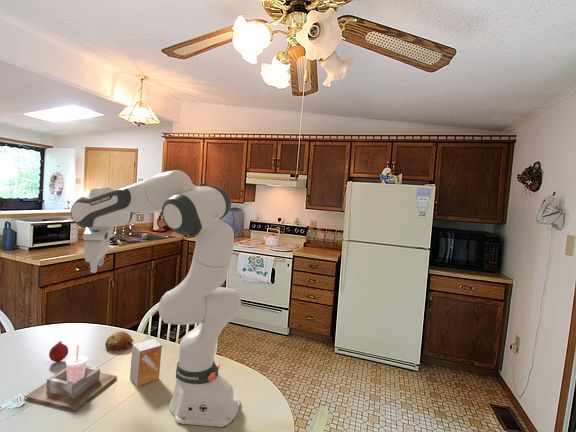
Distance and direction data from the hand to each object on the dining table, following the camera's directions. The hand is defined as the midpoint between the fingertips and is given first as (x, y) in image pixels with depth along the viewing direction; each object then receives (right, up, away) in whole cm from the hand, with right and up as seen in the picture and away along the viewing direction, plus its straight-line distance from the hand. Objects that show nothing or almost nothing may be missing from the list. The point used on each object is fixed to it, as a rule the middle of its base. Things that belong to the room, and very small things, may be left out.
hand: (97, 268), depth 118 cm
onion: (-16, -36, +3) cm, 39 cm away
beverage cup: (-1, -37, -11) cm, 39 cm away
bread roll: (-1, -36, +19) cm, 41 cm away
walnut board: (-1, -38, -11) cm, 40 cm away
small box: (+18, -40, -2) cm, 44 cm away
